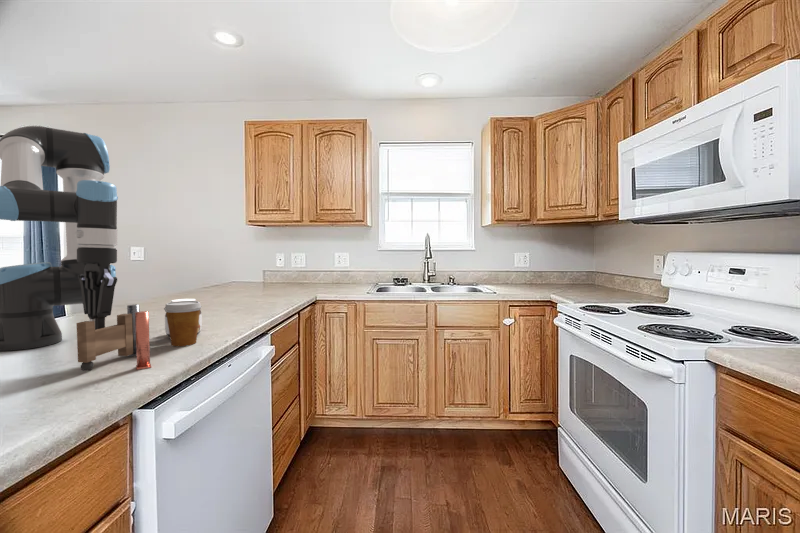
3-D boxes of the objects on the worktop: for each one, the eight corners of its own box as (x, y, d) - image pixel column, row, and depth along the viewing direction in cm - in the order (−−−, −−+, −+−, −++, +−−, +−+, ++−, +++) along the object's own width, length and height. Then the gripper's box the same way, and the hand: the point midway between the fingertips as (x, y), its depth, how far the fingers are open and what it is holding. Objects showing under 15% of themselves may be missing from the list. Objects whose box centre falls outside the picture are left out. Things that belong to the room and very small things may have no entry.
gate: (78, 371, 84) (76, 323, 83) (125, 354, 97) (123, 312, 97) (87, 371, 84) (85, 323, 83) (133, 355, 97) (132, 312, 96)
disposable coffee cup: (192, 338, 117) (191, 299, 116) (208, 342, 111) (207, 302, 111) (158, 344, 109) (157, 303, 109) (174, 349, 104) (173, 306, 103)
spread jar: (182, 341, 113) (181, 302, 113) (150, 339, 116) (149, 301, 115) (210, 332, 125) (209, 297, 125) (180, 331, 127) (179, 296, 127)
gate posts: (128, 354, 99) (126, 305, 99) (145, 351, 102) (144, 303, 101) (131, 370, 86) (129, 313, 85) (151, 367, 88) (149, 312, 88)
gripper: (65, 245, 90) (65, 344, 91) (92, 246, 84) (92, 351, 85) (101, 246, 97) (101, 338, 97) (129, 247, 91) (129, 345, 92)
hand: (97, 344), depth 91 cm, fingers closed
